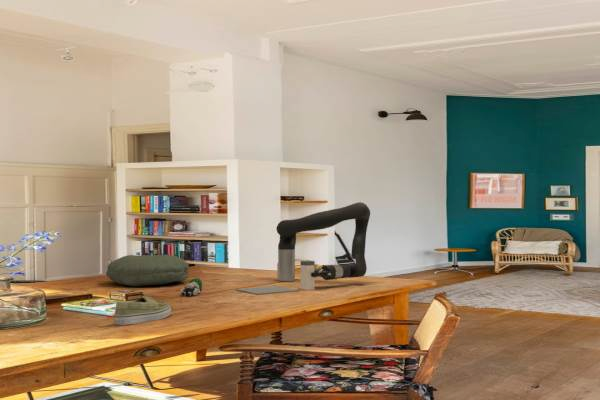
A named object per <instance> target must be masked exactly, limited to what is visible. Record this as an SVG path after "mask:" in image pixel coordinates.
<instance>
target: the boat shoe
mask: <svg viewBox="0 0 600 400" xmlns="http://www.w3.org/2000/svg"><path fill="white" fill-rule="evenodd" d="M171 314H172V308H171V306H170V304H168V303H167V302H166V301H157V300H155V299H153V297H151V296H140V297H137V298H136V299H135V300H126V301H125V300H124V301H123V300H120V301H116V303H115V311H114V319H113V320H114V324H115V325H117V326H130V325H131V326H132V325H137V324H138V325H139V324H142V323H146V322H153V321H159V320H162V319H167V318H168V317H169V316H171Z"/></svg>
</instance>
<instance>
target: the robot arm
mask: <svg viewBox="0 0 600 400" xmlns="http://www.w3.org/2000/svg"><path fill="white" fill-rule="evenodd" d="M370 217H371V210H370V208H369V206H367V204H366V203H365V202H356V203H352V204H350V205H349V204H348V205H346V206H343V207H340V208H339V207H338V208H335V209H334V208H333V209H328V210H323V211H318V212H314V213H312V214H309V215H305V216H303V217H300V218H295V219H294V218H293V219H284V220H281V221H279V222H278V224H277V226H276V232H277V233H278V235H279V242H278V246H277V251H278V252H277V253H278V255H277V263H276V267H277V268H276V269H277V270H276V271H277V272H276V273H277V274H276V275H277V277H276V279H277V281H279V282H295V281H296V245H297V234H299V233H301V232H302V233H303V232H310V231H311V232H312V231H317V230H319V231H320V230H325V229H328V228H329V229H330V228H331V227H335V225H338V224H339V223H342V222H344V221H349V220H354V222H355V229H354V230H355V231H354V234H353V239H352V244H351V254H350V255H351V258H352V259H353V260H354V261H355V263H351V264H323V265H324V266H323V267H322V268H321V269H315V272H312V273H311V277H315V278H316V277H318V278H322V279H323V280H324V281H330V280H331V281H332V280H340V279H347V278H352V279H353V278H361V277H364V276H365V275H366V274H367V261H366V258H365V257H366V239H367V232H368V225H369V221H370Z"/></svg>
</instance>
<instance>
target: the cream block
mask: <svg viewBox="0 0 600 400" xmlns="http://www.w3.org/2000/svg"><path fill="white" fill-rule="evenodd" d="M315 265H316V264H315V261H314V260H309V259H307V260H300V279H299V281H300V286H299V287H300V290H304V291H309V290H310V291H311V290H315V278H316V277H311V273H312V272H315Z"/></svg>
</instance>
